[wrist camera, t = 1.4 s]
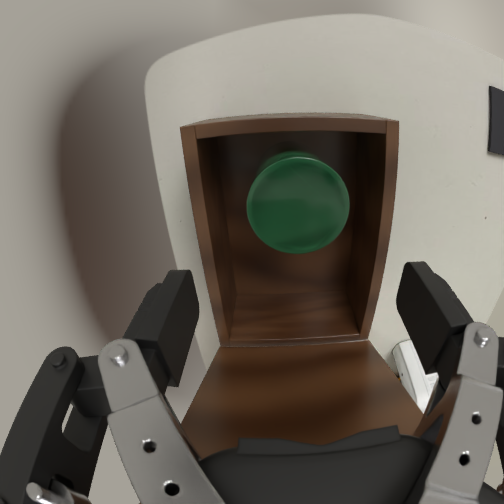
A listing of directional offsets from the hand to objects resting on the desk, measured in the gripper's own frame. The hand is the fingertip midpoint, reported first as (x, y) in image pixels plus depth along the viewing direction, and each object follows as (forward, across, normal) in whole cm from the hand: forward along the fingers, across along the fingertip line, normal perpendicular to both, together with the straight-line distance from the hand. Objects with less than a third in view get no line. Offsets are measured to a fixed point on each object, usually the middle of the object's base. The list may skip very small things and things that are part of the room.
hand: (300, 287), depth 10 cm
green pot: (+17, -1, 0) cm, 17 cm away
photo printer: (+18, -22, +26) cm, 39 cm away
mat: (+18, -28, -8) cm, 34 cm away
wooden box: (+18, -1, +4) cm, 18 cm away
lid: (0, -1, +10) cm, 10 cm away
